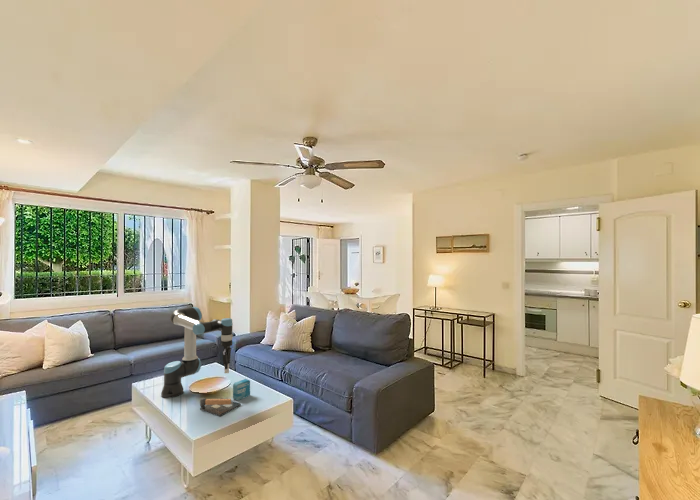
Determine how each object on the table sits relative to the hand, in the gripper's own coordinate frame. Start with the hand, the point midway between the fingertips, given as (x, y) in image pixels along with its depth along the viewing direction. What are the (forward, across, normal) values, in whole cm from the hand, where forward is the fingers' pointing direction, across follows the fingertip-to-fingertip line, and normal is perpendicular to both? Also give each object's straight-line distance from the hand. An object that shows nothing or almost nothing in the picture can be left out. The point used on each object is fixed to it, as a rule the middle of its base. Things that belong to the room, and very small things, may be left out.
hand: (226, 372), depth 235 cm
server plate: (+22, -6, +2) cm, 23 cm away
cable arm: (+19, -8, +5) cm, 21 cm away
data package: (+22, +10, -8) cm, 26 cm away
